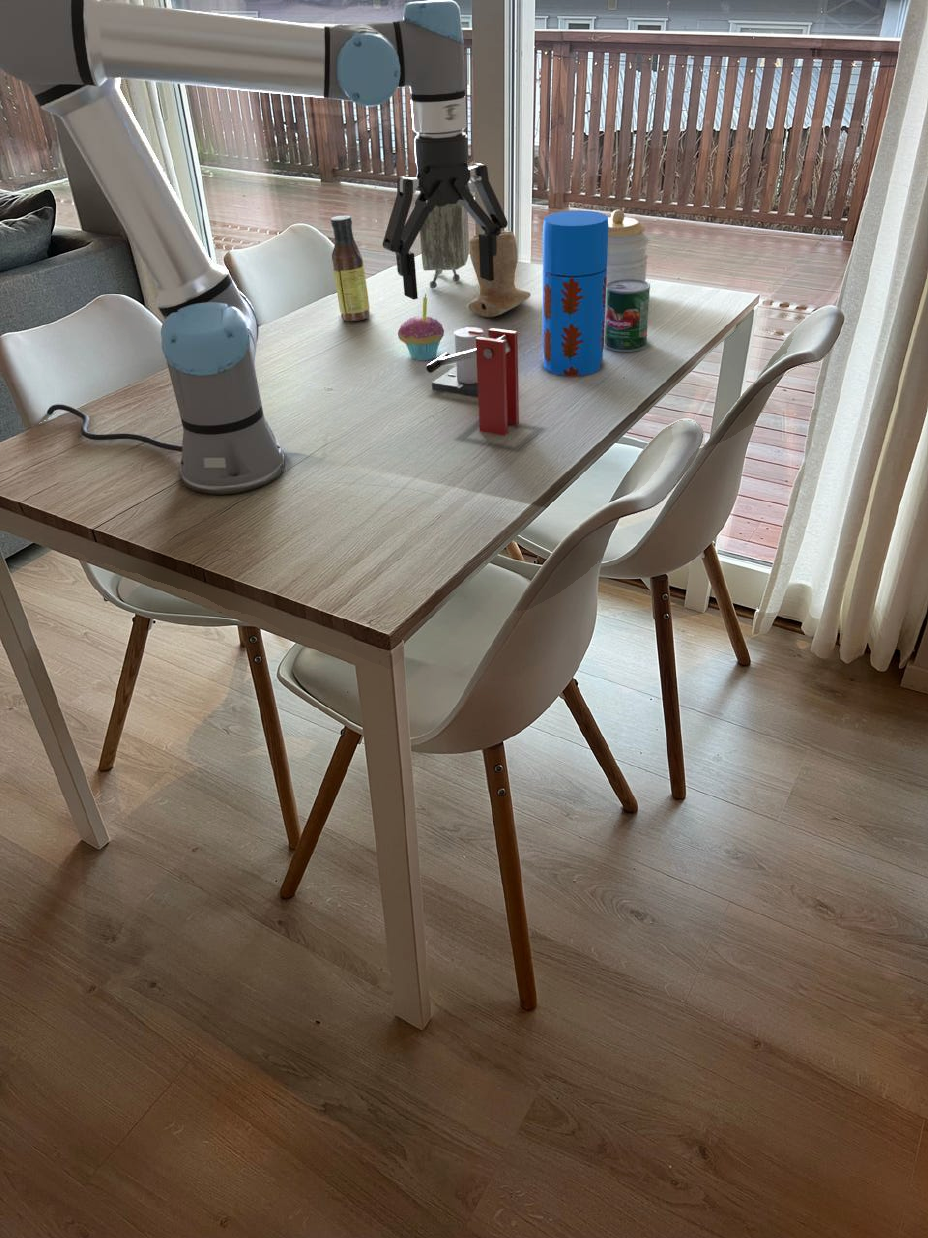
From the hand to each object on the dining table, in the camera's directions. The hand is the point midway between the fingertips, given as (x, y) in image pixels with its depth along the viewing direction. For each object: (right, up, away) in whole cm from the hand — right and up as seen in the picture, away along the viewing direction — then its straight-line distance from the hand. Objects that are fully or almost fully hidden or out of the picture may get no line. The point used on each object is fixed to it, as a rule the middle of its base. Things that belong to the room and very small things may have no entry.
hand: (449, 287), depth 142 cm
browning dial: (+3, -10, +16) cm, 19 cm away
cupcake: (-6, -1, +33) cm, 33 cm away
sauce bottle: (-21, +12, +53) cm, 58 cm away
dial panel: (+4, -12, +17) cm, 21 cm away
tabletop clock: (-1, +26, +71) cm, 75 cm away
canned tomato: (+32, +1, +32) cm, 46 cm away
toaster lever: (+3, -12, -1) cm, 12 cm away
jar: (+34, +17, +55) cm, 67 cm away
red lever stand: (+8, -22, +3) cm, 23 cm away
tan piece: (+9, +15, +54) cm, 57 cm away
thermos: (+22, -5, +26) cm, 34 cm away
